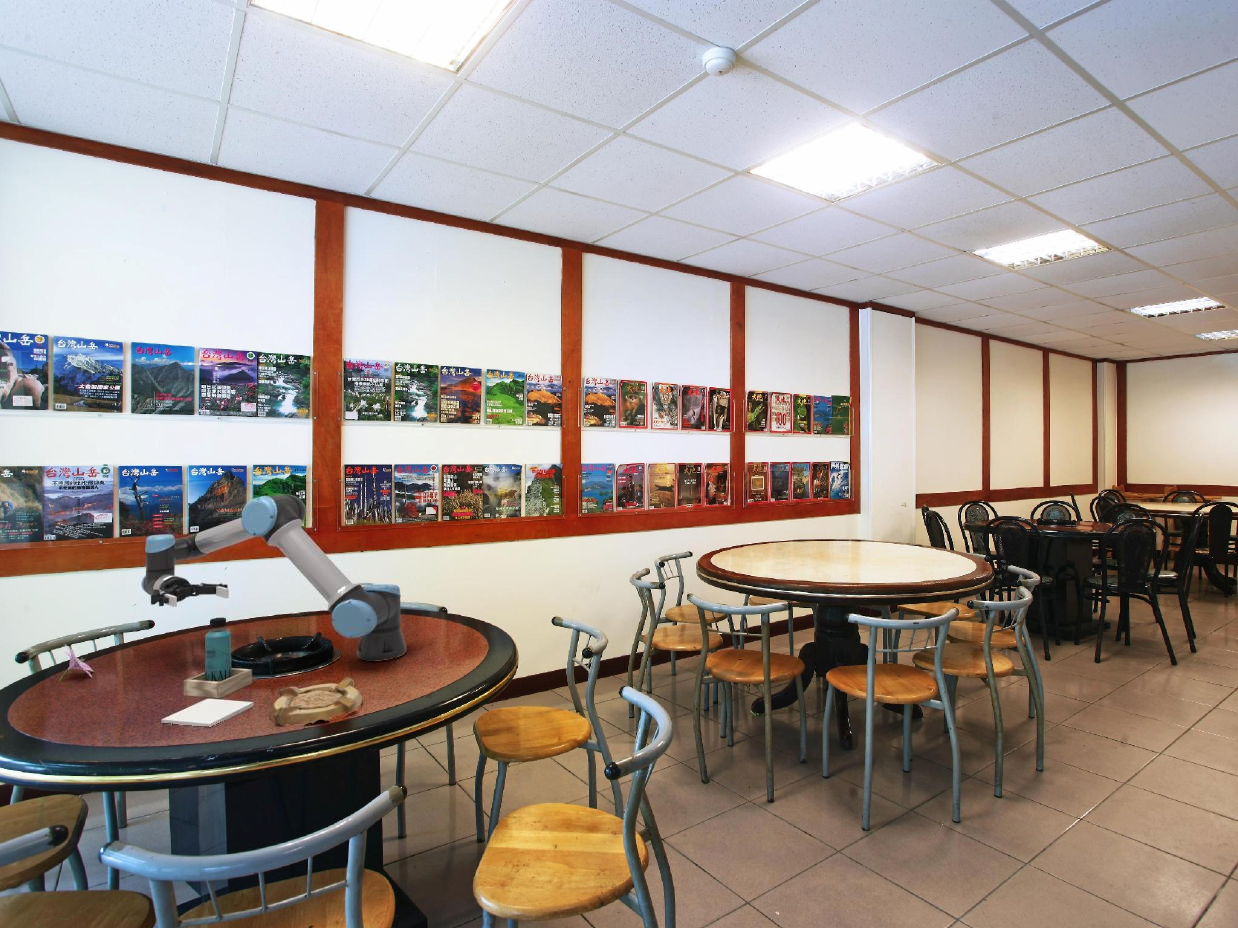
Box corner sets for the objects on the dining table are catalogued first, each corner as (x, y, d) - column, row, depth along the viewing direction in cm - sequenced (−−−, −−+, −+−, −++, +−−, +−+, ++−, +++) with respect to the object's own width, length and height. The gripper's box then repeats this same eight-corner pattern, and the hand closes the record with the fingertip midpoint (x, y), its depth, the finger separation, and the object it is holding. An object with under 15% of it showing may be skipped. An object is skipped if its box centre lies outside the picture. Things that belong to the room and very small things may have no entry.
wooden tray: (252, 683, 189) (251, 669, 189) (220, 698, 178) (219, 683, 178) (217, 680, 192) (217, 667, 192) (183, 695, 180) (183, 680, 180)
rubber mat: (253, 706, 172) (253, 702, 172) (210, 728, 158) (210, 723, 158) (207, 702, 175) (207, 698, 175) (161, 723, 161) (161, 719, 161)
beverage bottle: (212, 685, 188) (211, 615, 188) (236, 684, 188) (235, 615, 188) (199, 693, 181) (198, 621, 181) (225, 692, 182) (224, 620, 182)
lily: (76, 689, 188) (96, 656, 192) (32, 676, 186) (53, 642, 190) (94, 688, 199) (113, 657, 203) (53, 676, 197) (73, 644, 201)
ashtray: (295, 692, 183) (294, 674, 183) (379, 693, 182) (379, 675, 182) (243, 728, 159) (243, 707, 159) (340, 728, 159) (340, 708, 158)
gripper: (216, 593, 213) (247, 602, 200) (124, 608, 193) (151, 619, 180) (216, 570, 213) (247, 578, 200) (124, 582, 193) (151, 592, 180)
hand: (202, 597), depth 190 cm, fingers open, 13 cm apart
